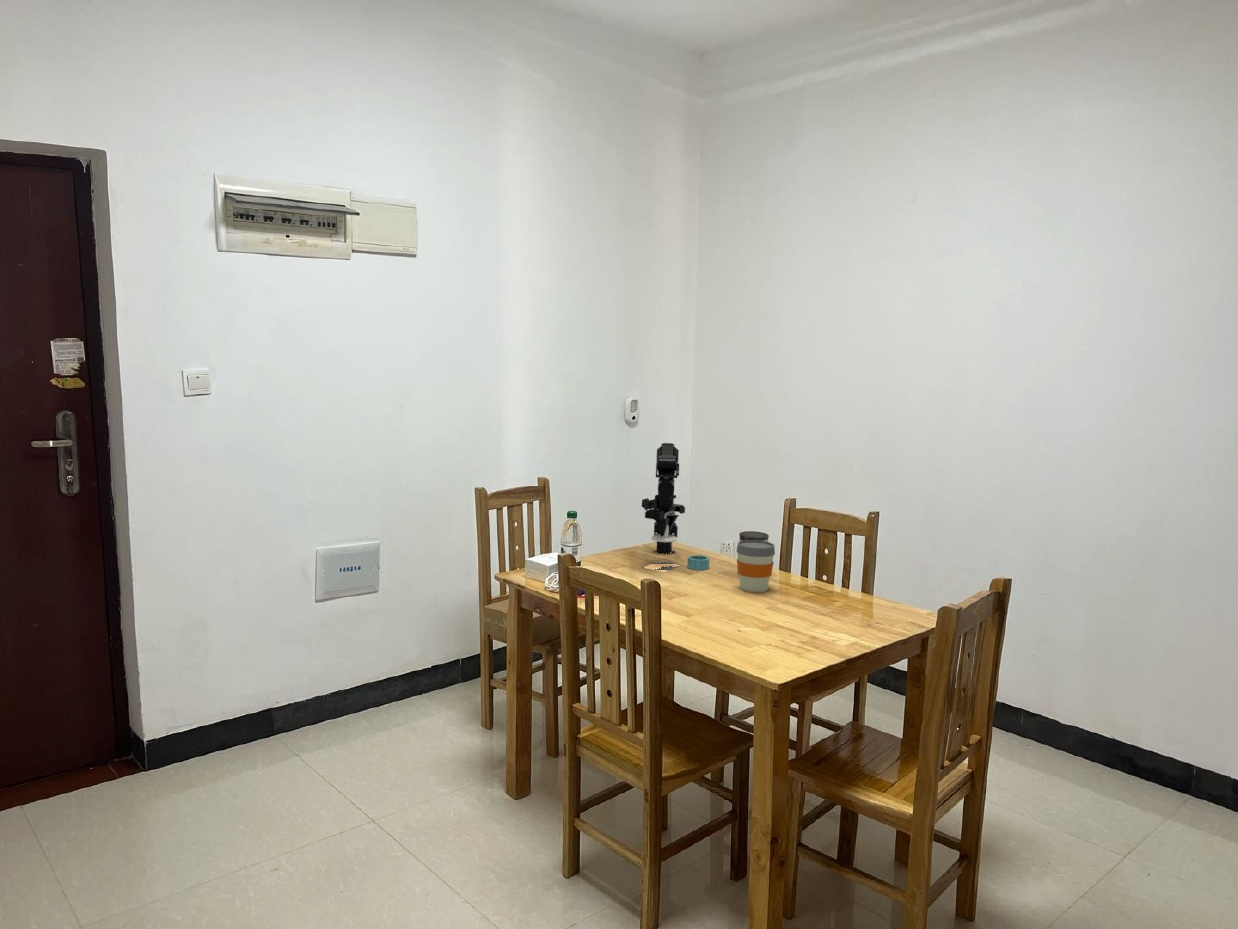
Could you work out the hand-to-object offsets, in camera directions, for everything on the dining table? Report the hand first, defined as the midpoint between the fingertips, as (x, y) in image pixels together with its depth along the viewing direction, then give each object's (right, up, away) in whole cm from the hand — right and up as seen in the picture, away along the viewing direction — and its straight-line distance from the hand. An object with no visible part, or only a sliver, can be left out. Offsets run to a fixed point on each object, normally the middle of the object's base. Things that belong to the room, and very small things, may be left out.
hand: (664, 535), depth 308 cm
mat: (-1, -12, +2) cm, 12 cm away
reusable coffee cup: (+29, -16, -22) cm, 40 cm away
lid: (0, -2, 0) cm, 2 cm away
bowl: (+12, -12, +1) cm, 17 cm away
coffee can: (+31, -13, -3) cm, 34 cm away
